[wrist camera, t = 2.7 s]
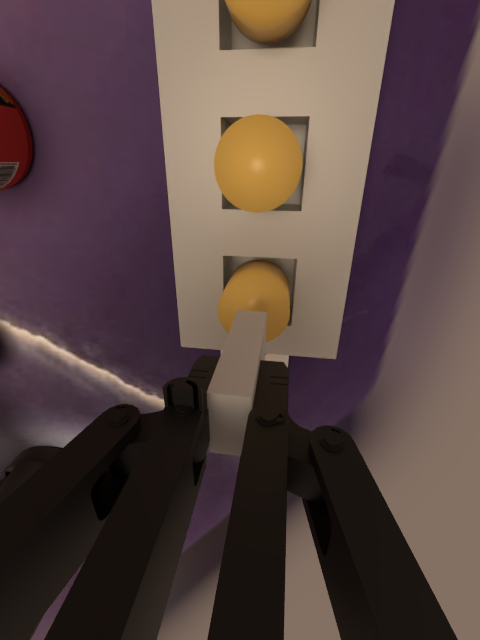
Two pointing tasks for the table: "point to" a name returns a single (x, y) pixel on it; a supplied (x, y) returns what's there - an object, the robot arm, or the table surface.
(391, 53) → the table surface
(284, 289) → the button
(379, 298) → the table surface
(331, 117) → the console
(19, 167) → the canned food
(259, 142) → the button mid
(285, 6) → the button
